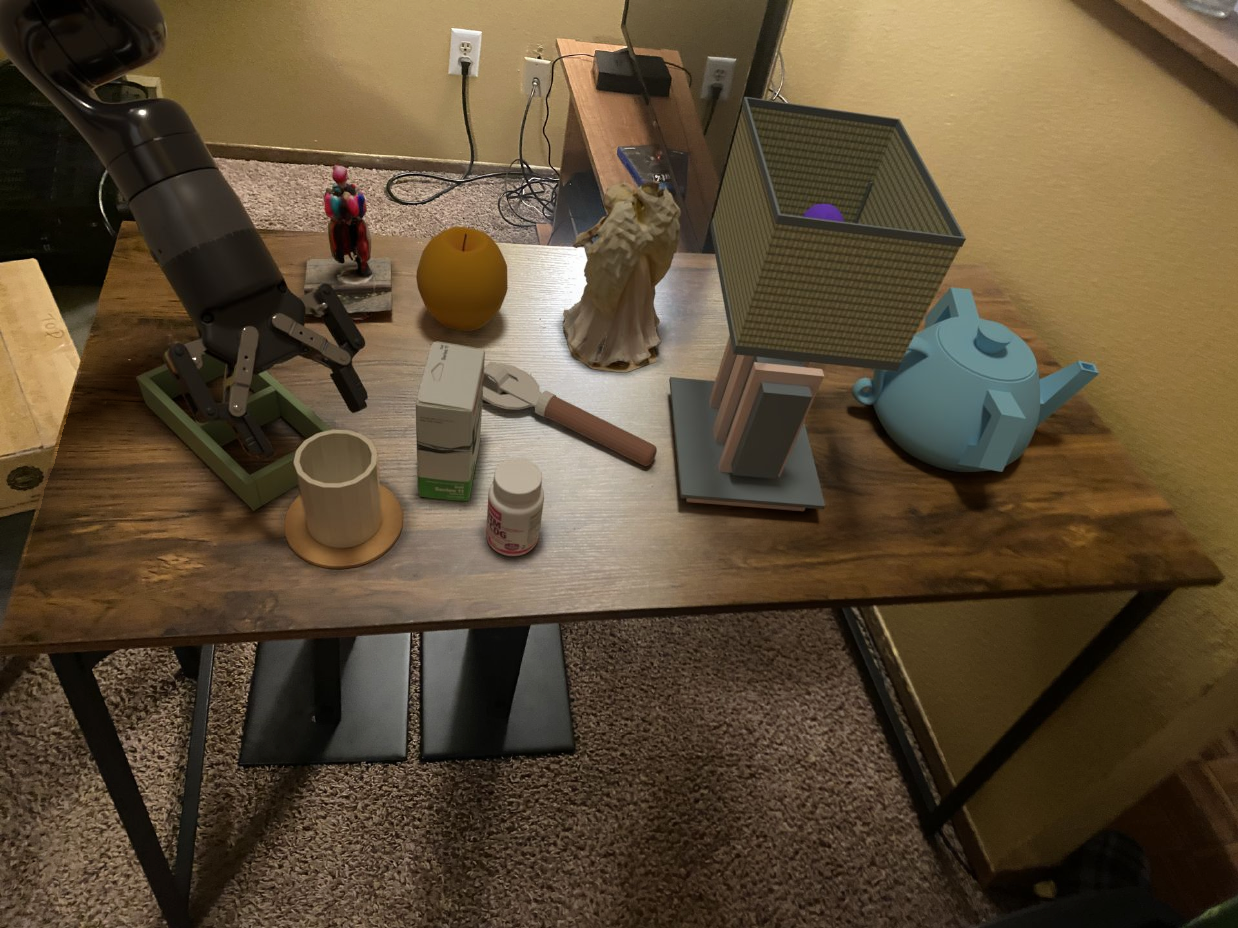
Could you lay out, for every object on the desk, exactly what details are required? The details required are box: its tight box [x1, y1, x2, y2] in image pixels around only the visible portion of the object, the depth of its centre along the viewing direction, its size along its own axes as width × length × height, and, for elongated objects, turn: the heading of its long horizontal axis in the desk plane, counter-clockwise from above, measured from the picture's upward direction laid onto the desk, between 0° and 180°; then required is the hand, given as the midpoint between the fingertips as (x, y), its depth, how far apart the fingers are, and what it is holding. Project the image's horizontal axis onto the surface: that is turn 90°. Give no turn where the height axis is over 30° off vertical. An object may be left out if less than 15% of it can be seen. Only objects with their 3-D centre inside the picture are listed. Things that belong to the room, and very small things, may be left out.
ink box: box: [415, 341, 486, 502], centre depth 76 cm, size 9×5×12 cm, turn 179°
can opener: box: [482, 361, 658, 467], centre depth 86 cm, size 20×6×3 cm, turn 68°
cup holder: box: [136, 352, 334, 511], centre depth 78 cm, size 18×9×4 cm, turn 49°
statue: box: [303, 164, 393, 321], centre depth 91 cm, size 11×9×15 cm
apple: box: [415, 226, 509, 331], centre depth 91 cm, size 10×10×12 cm
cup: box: [294, 429, 382, 548], centre depth 71 cm, size 6×6×8 cm
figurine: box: [562, 180, 682, 374], centre depth 90 cm, size 12×12×20 cm
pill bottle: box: [485, 457, 545, 557], centre depth 72 cm, size 5×5×8 cm
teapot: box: [851, 286, 1100, 473], centre depth 91 cm, size 19×19×14 cm
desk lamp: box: [669, 96, 967, 512], centre depth 75 cm, size 18×14×33 cm
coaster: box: [283, 484, 404, 570], centre depth 74 cm, size 10×10×1 cm
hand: (316, 433), depth 68 cm, fingers open, 8 cm apart
